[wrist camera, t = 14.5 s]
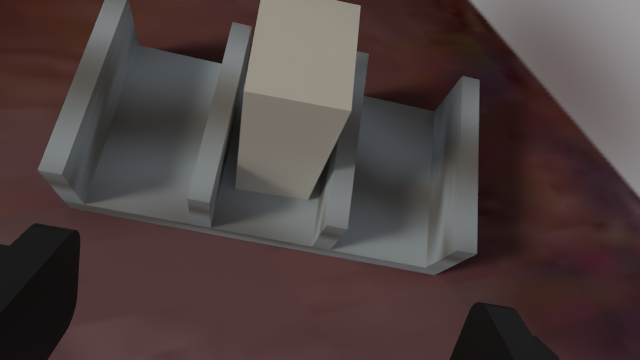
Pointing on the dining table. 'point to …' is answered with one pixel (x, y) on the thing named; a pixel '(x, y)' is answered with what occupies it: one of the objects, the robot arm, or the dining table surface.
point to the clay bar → (296, 94)
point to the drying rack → (222, 156)
